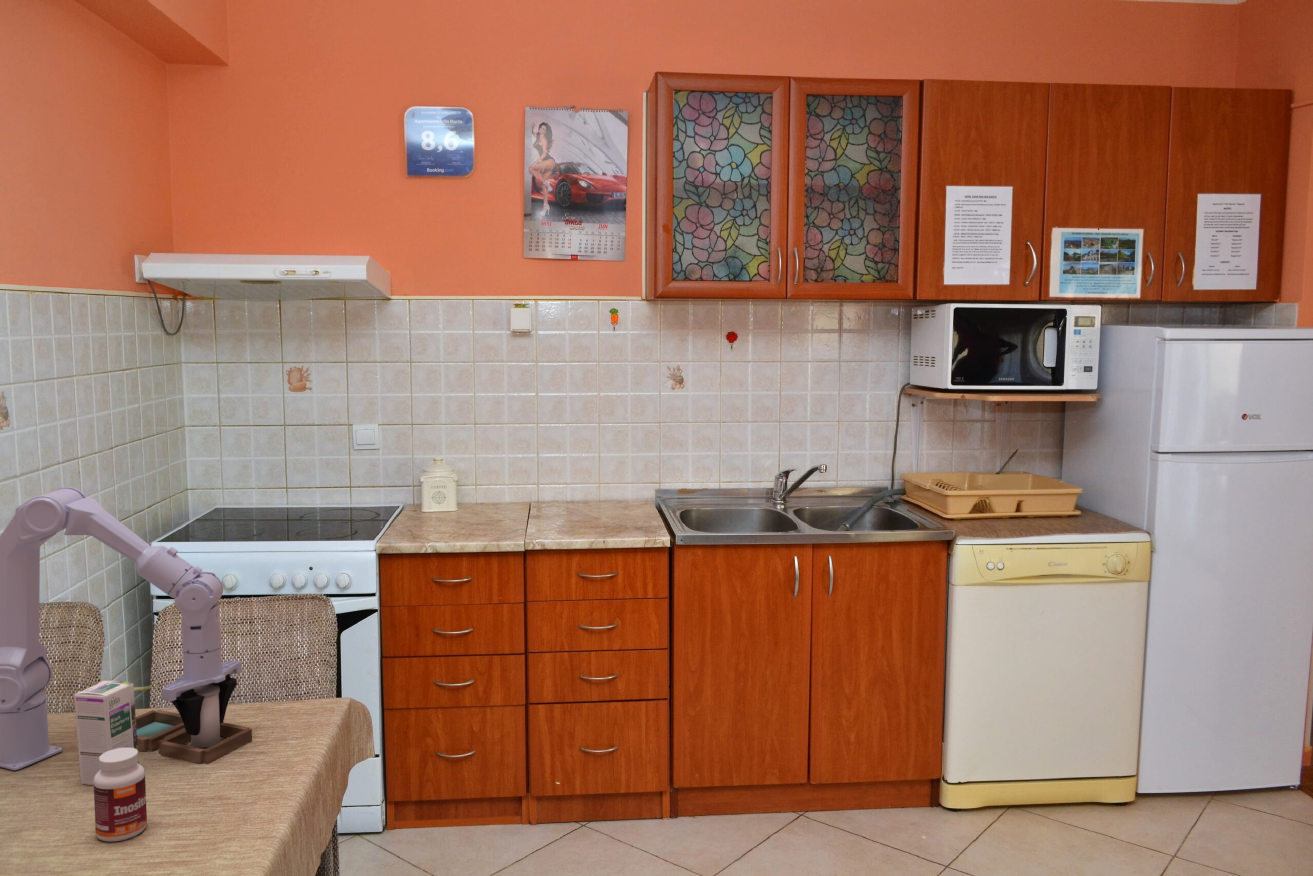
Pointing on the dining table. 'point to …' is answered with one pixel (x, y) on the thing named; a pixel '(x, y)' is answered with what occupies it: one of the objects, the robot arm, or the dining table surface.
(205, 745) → the tube
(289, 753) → the dining table surface
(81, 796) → the dining table surface
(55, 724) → the dining table surface
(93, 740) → the syrup box
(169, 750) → the brown flat frame
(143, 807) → the pill bottle
